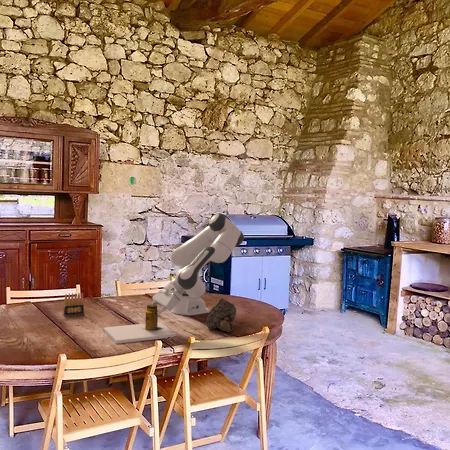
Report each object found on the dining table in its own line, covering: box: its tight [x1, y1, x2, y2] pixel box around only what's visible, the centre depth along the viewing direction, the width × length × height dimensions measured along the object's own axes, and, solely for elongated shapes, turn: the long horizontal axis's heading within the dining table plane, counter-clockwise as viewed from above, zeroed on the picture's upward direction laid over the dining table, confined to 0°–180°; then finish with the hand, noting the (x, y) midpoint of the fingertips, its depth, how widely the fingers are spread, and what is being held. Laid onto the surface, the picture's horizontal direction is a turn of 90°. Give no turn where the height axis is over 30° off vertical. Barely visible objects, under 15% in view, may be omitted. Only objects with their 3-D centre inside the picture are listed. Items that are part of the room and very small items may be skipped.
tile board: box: [102, 321, 178, 344], centre depth 238 cm, size 30×22×2 cm
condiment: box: [142, 303, 162, 331], centre depth 242 cm, size 7×8×12 cm
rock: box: [205, 298, 237, 333], centre depth 252 cm, size 18×14×15 cm
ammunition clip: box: [63, 292, 85, 316], centre depth 268 cm, size 11×2×12 cm, turn 120°
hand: (154, 311), depth 242 cm, fingers open, 8 cm apart
